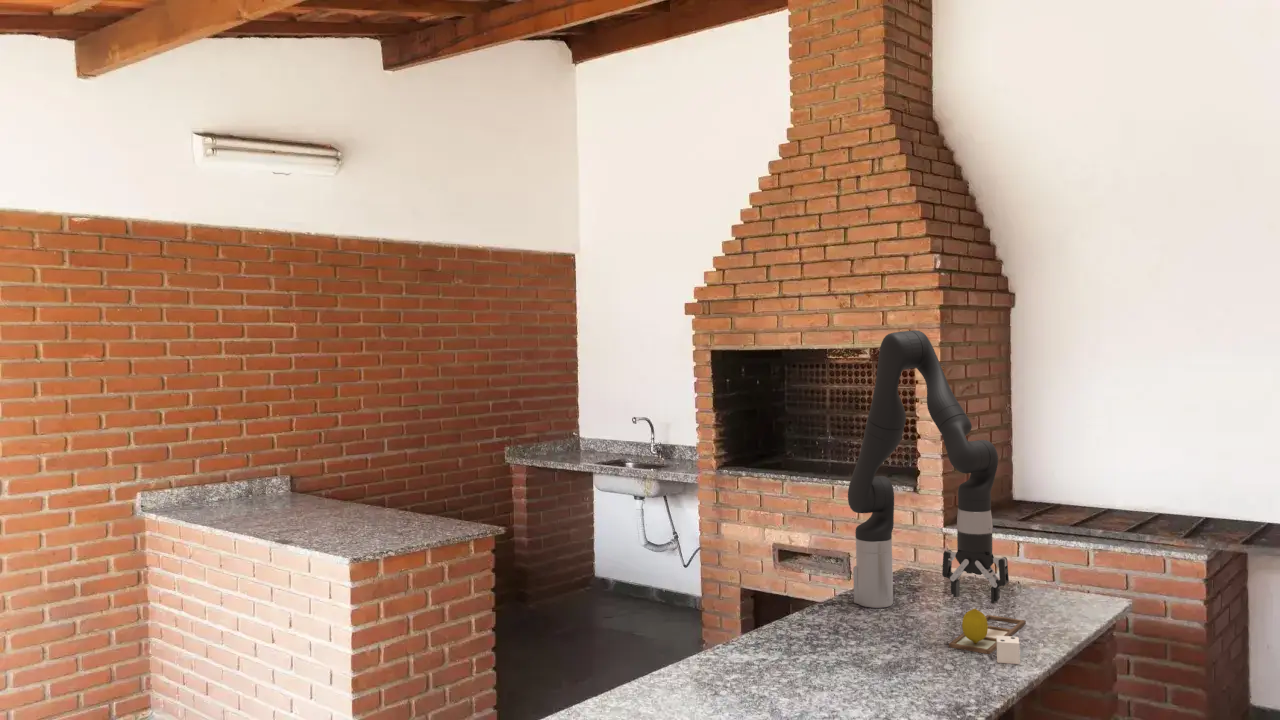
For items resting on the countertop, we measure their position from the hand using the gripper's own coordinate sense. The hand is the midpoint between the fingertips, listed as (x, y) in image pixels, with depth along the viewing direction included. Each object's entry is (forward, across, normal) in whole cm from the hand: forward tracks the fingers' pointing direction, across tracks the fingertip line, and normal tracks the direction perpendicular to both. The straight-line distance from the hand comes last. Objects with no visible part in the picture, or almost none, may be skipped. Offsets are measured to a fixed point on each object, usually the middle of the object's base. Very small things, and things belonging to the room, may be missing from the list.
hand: (975, 599), depth 224 cm
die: (+10, +9, -6) cm, 15 cm away
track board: (+10, 0, +8) cm, 13 cm away
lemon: (+10, 0, 0) cm, 10 cm away
